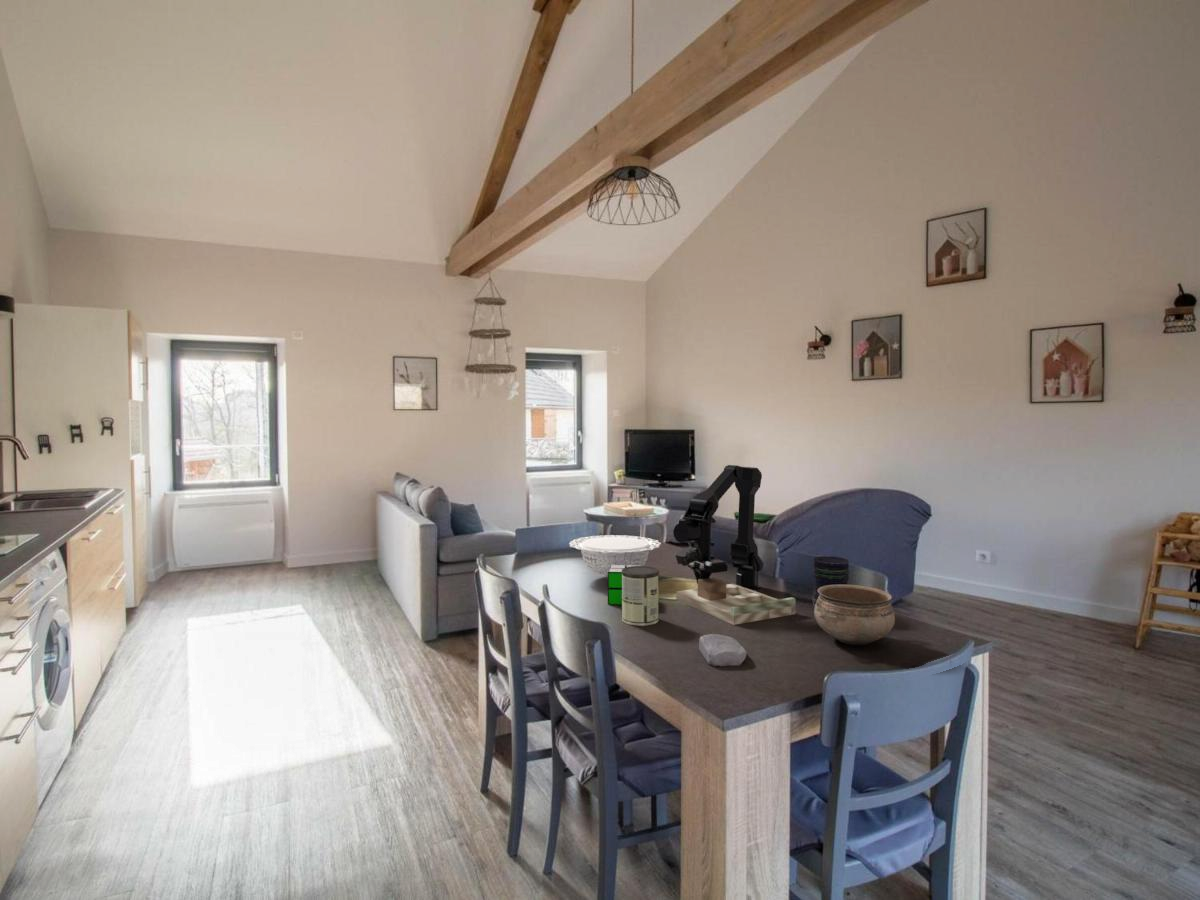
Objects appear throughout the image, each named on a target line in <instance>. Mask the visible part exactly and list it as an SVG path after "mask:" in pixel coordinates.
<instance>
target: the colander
mask: <svg viewBox="0 0 1200 900" xmlns="http://www.w3.org/2000/svg"><path fill="white" fill-rule="evenodd" d="M568 545H569V547H570V548H575V549H576V550H579V551H580V552H581V554H582V558H581V559H583V562H584V564H586V567H587V568H588V569H589V570H591V571H592V572H594V573H597V574H599V575H604V576H606V577H608V571H609V568H610V566H611V565H626V566H627V565H637V566H645V564H646V562H647V560H648V558H649V557H648V555H649V554H650V552H651V551H654V550H656V549H658V548H660V547H661V546H662V543H661V542H659V540H658V539H653V538H649V537H644V536H636V535H626V534H624V535H623V534H621V535H620V534H616V535H614V534H607V535H591V536H584V537H583V536H582V537H579V538H575V539H573V540H570V542H569V543H568ZM595 559H596V560H595Z"/></svg>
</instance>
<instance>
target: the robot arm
mask: <svg viewBox="0 0 1200 900" xmlns="http://www.w3.org/2000/svg"><path fill="white" fill-rule="evenodd" d="M762 475H763V474H762V471H761V470H760V469H759V468H758V467H751V466H740V465H737V464H736V465H735V464H734V465H733V464H727V465H725V467H724V468H723V471H721V473H720V474H719V475H718V476H717V477H716V478H715V479H714V481H713V482H712V483H711V484H710V485H709V486H708V487H707V489H705V490H704V491H701V492H699V493H697V494H695V495H694V496H693V497H692V498H691V499H690V500H689V504H688V506H687V508H686V510H685V512H684V514H683V517H682V518H680V519H678V523H677V524H676V525H675V526H674V528H673V530H672V531H673V532H672V533H673V537H674V539H675V540H676V542H678V543H679V544H680V543H681V544H683V543H688V547H685V548H683V549H681V550H679V551H676V552H675V554H674V555H675V560H676V562H677V564H678V565H682V566H684V567H686V566H687V567H688V568H689V569H690V570H692V572H693V574H694V576H695V580H696V583H697V585H698V579H705V578H711V576H712V574H715V573H723V572H728V568H729V567H728V566H729V565H728V563H727V562H726V561H725V560H721V559H715V555H712V547H714V546H715V542H714V541H712V535H713V533H712V531H713V529H712V528H713V526H712V525H713V524H716V523H717V520H716V519H715V518H714V517H713V516H714V515H715V513H716V512H717V510H718V509H719V506H720V505H719V501H720V500H721V499H722V497H724V495H725V494H726V493H727V492H728V490H729V489H730V488H731V487H732V486H733V484H734V487H735V488H736V490H737V492H738V494H739V495H738V496H739V498H738V514H737V515H738V518H737V519H738V520H737V537H736V539H735V541H734V542H731V544H730V553H729V556H730V559H731V564H732V568H736V570H737V571H736V575H735V576H736V577H735V578H736V579H735V580H736V582H735V584H736V585H739V586H741V587H744V588H747V589H750V590H756V589H762V586H761V585H759V572H761V571H763V568H764V562H763V560H762V558H761V557H760V556H759V554H758V553H759V549H758V546H757V543H756V542H755V540H754V523H755V521H754V520H755V501H756V500H755V499H756V494H757V492H758V490H760V488H761V485H762V484H761V483H762V478H763V476H762Z"/></svg>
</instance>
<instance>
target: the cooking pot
mask: <svg viewBox="0 0 1200 900" xmlns="http://www.w3.org/2000/svg"><path fill="white" fill-rule="evenodd" d="M818 593H819V594H820V595H819V597H818V599H817V601H816V604H815V608H814V611H813V615H814V619H815V620H816V622H817V625H818V626H819V627H820V628H821V629H822V630H823V631H824V632H825V633H827V634H828V635H830V636H832V637H833V638H834V639H836V640H837V641H839V642H840V643H842V644H844V643H845V644H846V645H848V644H849V645H850V646H854V645H862V646H865V645H868V644H870V643H873V642H876V641H878V640H881V639H883V638H884V637H886V636H888V634H890V632H892V629H893V627H894V626H895V622H896V615H895V612H894V608H893V605H892V603H891V601H892V599H893V595H892V594H890V593H889V592H887V591H885V590H882V589H880V588H876V587H870V586H864V585H857V584H847V585H827V586H823V587H820V588H819V589H818ZM849 645H848V646H849Z"/></svg>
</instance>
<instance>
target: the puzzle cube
mask: <svg viewBox="0 0 1200 900" xmlns="http://www.w3.org/2000/svg"><path fill="white" fill-rule="evenodd" d="M609 566H610V565H609ZM631 566H638V564H637V565H636V564H634V565H627V566H626V565H611V566H610V568H609V571H608V576H607V605H609V606H610V605H611V606H622V569H623V568H626V567H631Z"/></svg>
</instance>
